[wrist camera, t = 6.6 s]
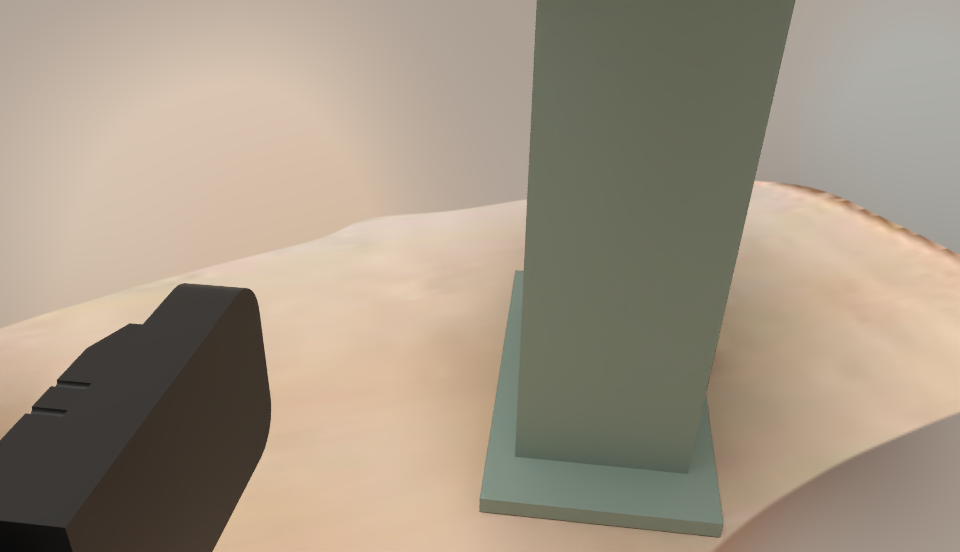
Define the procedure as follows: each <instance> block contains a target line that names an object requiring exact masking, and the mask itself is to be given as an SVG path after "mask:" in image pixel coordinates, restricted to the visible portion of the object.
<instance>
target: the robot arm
mask: <svg viewBox="0 0 960 552" xmlns="http://www.w3.org/2000/svg"><path fill="white" fill-rule="evenodd" d="M270 420H271V398H270V390H269V382H268V375H267V367H266V359H265V351H264V343H263V336H262V328H261V320H260V312H259V306H258V302H257V299H256V296H255V294H254V293H253V291H251V290H250V289H247V288H236V287H224V286H212V285H199V284H187V283H184V284H180V285H178V286H177V287H176V288H175V289H174V290H173V291H172V292H171V293H170V294H169V295H168V296H167V298H166V299H165V300H164V301H163V302H162V303H161V304H160V306H159V307H158V308H157V309H156V310H155V311H154V312H153V314H152V315H151V316H150V317H149V318H148V319H147V320H146V321H145V323H144V324H143V325H142V324H128V325H126V326H125V327H123V328H121V329H119V330H118V331H116V332H114V333H112V334H111V335H109V336H107V337H106V338H104V339H102V340H100V341H99V342H97V343H95V344H94V345H92V346H90V347H88V348H87V349H86V350H85V351H84V352H83V353H82V354H81V355H80V356H79V357H78V358H77V359H76V360H75V361H74V362H73V364H72V365H71V366H70V367H69V368H68V369H67V370H66V371H65V372H64V373H63V374H62V375H61V376H60V377H59V378H58V379H57V385H56V387H53V386H51V387H50V388H49V389H48V390H47V391H46V392H45V393H44V394H43V395H42V396H41V398H40V399H39V400H38V401H37V402H36V403H35V404H34V405H33V406H32V412H31V414H25V415H24V416H23V417H22V418H21V419H20V420H19V421H18V422H17V423H16V424H15V425H14V426H13V427H12V428H11V429H10V430H9V432H8V433H7V434H6V435H5V436H4V437H3V438H2V439H1V440H0V552H212V551H213V549H214V547H215V546H216V544H217V542H218V540H219V538H220V536H221V534H222V532H223V530H224V528H225V526H226V524H227V522H228V520H229V518H230V516H231V515H232V513H233V511H234V509H235V507H236V505H237V503H238V501H239V499H240V497H241V495H242V493H243V491H244V489H245V487H246V486H247V484H248V482H249V480H250V478H251V476H252V474H253V472H254V470H255V468H256V466H257V464H258V462H259V460H260V458H261V456H262V454H263V451H264V449H265V446H266V442H267V438H268V434H269V428H270Z"/></svg>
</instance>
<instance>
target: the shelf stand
mask: <svg viewBox="0 0 960 552" xmlns="http://www.w3.org/2000/svg"><path fill="white" fill-rule="evenodd" d="M794 4H795V0H537V10H536V30H535V50H534V71H533V72H534V73H533V92H532V114H531V133H530V134H531V135H530V154H529V176H528V196H527V216H526V237H525V258H524V271H517V270H516V271H515V277H514V283H513V290H512V296H511V303H510V309H509V315H508V322H507V328H506V335H505V341H504V347H503V354H502V360H501V366H500V373H499V379H498V386H497V392H496V398H495V405H494V411H493V418H492V424H491V430H490V437H489V443H488V449H487V456H486V462H485V469H484V475H483V481H482V488H481V494H480V512H489V513H498V514H508V515H517V516H526V517H536V518H545V519H554V520H564V521H573V522H582V523H592V524H601V525H610V526H620V527H629V528H638V529H648V530H657V531H666V532H676V533H685V534H694V535H704V536H713V537H720V534H721V531H722V527H723V518H722V511H721V503H720V496H719V488H718V481H717V474H716V466H715V459H714V451H713V444H712V436H711V429H710V421H709V414H708V407H707V399H706V391H707V386H708V382H709V377H710V373H711V369H712V364H713V360H714V355H715V351H716V347H717V342H718V338H719V334H720V329H721V325H722V320H723V316H724V312H725V307H726V303H727V298H728V294H729V290H730V285H731V281H732V276H733V272H734V268H735V263H736V259H737V254H738V250H739V246H740V241H741V237H742V232H743V228H744V224H745V219H746V215H747V210H748V206H749V202H750V197H751V193H752V188H753V184H754V180H755V175H756V171H757V166H758V162H759V157H760V153H761V149H762V145H763V140H764V136H765V131H766V127H767V123H768V118H769V114H770V109H771V105H772V100H773V96H774V92H775V87H776V83H777V78H778V74H779V70H780V65H781V61H782V57H783V52H784V48H785V43H786V39H787V34H788V30H789V25H790V21H791V17H792V13H793V8H794Z"/></svg>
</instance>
